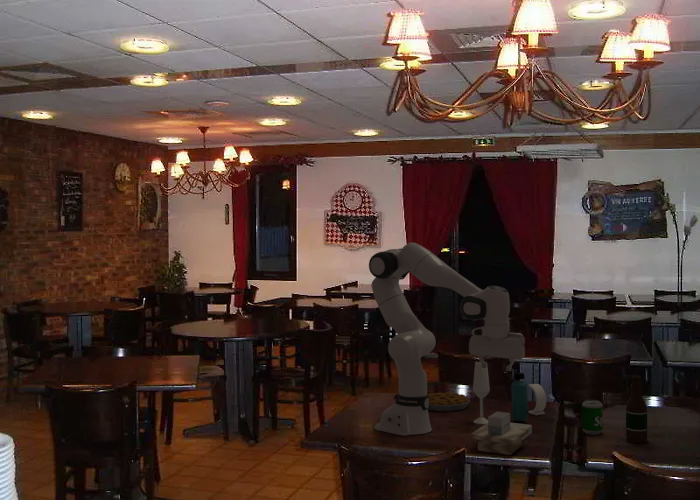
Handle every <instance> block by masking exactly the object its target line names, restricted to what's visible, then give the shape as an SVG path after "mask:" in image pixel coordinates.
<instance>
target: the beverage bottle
mask: <svg viewBox="0 0 700 500" xmlns="http://www.w3.org/2000/svg"><path fill="white" fill-rule="evenodd" d="M513 376H514V377H513V379H515V381H513V382H512V383H511V419H512V420H514V421H519V422H520V421H521V422H523V421H527V420H529V406H528V405H529V401H528V400H529V399H528V397H529V396H528V383H527V382H525V381H524V379H526V378H525V373H523V372H515V373H514V375H513Z"/></svg>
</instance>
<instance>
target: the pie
mask: <svg viewBox="0 0 700 500" xmlns="http://www.w3.org/2000/svg"><path fill="white" fill-rule="evenodd" d="M427 394H428V400H429V405H428V411H429V410H430V411H433V412H457V411H461V410H465V409H467V407H468V406H469V405H468V404H470V403H471V399H470V397H469V396H468V395H465V394H463V393H461V394H459V393H458V392H454V393H453V392H449V391H445V392H441V391H437V392H436V393H434V392H429V393H427Z"/></svg>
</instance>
